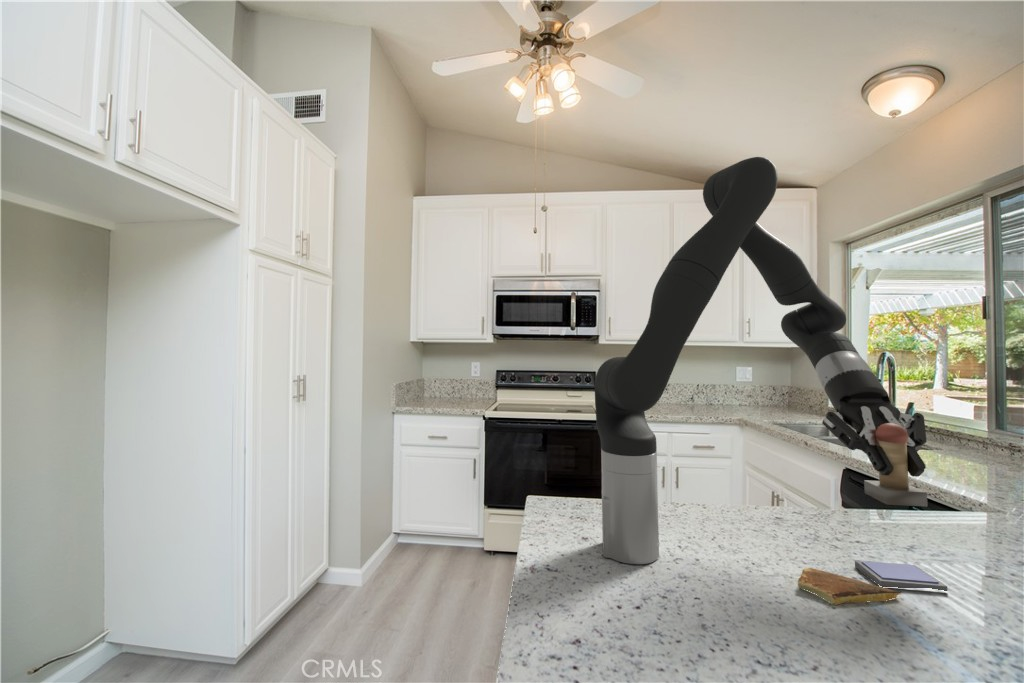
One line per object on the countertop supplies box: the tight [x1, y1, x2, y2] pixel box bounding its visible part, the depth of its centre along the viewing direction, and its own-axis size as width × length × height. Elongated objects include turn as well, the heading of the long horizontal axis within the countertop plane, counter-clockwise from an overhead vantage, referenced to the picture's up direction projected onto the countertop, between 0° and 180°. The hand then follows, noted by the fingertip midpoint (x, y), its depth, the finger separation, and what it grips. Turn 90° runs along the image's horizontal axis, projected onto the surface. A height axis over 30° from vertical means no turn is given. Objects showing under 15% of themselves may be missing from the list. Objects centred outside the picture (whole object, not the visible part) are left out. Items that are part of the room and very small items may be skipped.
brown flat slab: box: [797, 567, 902, 606], centre depth 57 cm, size 11×8×2 cm
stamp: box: [863, 423, 929, 508], centre depth 62 cm, size 5×5×11 cm
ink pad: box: [854, 560, 949, 591], centre depth 61 cm, size 8×6×1 cm
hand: (903, 472), depth 60 cm, fingers closed on stamp, 3 cm apart
